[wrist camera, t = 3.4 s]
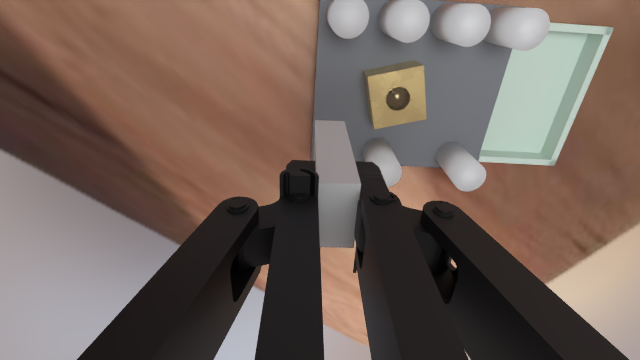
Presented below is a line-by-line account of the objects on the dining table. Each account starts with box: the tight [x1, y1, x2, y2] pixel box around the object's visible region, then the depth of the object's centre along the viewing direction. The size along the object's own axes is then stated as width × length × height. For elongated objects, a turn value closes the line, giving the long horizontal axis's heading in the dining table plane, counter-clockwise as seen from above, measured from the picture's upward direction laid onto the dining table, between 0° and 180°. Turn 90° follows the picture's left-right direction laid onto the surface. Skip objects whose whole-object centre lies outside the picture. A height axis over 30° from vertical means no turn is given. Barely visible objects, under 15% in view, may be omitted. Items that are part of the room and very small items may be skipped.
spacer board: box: [311, 0, 550, 191], centre depth 30 cm, size 17×15×7 cm
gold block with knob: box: [363, 60, 427, 129], centre depth 30 cm, size 5×5×3 cm
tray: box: [477, 22, 614, 166], centre depth 32 cm, size 8×13×2 cm, turn 176°
